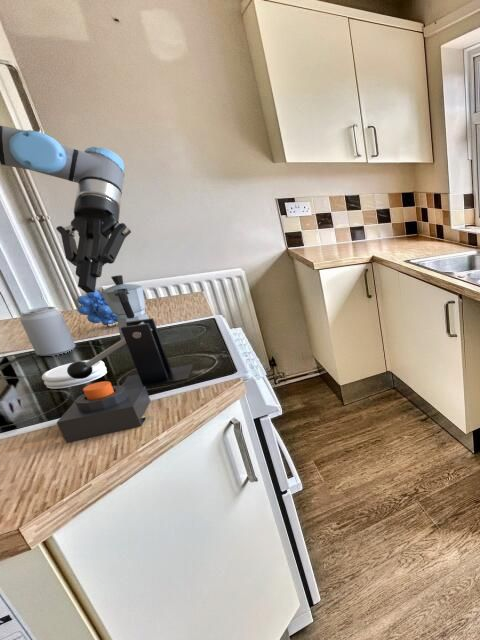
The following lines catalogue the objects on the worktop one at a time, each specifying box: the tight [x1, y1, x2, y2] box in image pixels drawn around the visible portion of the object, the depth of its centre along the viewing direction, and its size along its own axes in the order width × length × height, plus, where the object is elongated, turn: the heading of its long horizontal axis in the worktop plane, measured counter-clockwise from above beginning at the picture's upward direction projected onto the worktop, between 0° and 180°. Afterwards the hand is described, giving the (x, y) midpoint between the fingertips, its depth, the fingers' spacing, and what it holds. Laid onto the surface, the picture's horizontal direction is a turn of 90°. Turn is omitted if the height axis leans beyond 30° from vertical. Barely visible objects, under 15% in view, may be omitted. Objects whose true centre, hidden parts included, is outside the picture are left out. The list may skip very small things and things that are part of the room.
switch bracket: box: [121, 317, 195, 390], centre depth 90 cm, size 12×9×14 cm
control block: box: [56, 385, 151, 444], centre depth 76 cm, size 10×9×6 cm
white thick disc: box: [41, 359, 108, 390], centre depth 93 cm, size 10×10×4 cm
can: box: [19, 306, 77, 357], centre depth 109 cm, size 8×8×12 cm
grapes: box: [76, 289, 118, 326], centre depth 129 cm, size 12×7×12 cm, turn 134°
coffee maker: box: [99, 274, 150, 340], centre depth 117 cm, size 15×9×18 cm, turn 42°
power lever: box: [67, 322, 152, 379], centre depth 87 cm, size 16×4×4 cm, turn 119°
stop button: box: [82, 380, 114, 400], centre depth 75 cm, size 4×4×2 cm
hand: (86, 289), depth 91 cm, fingers closed
